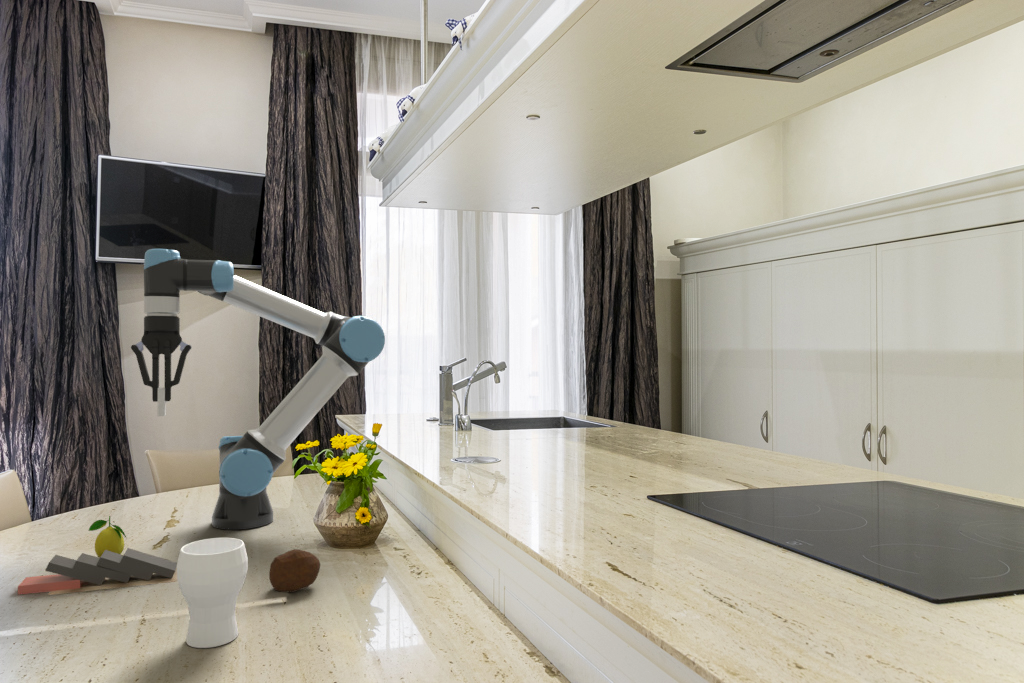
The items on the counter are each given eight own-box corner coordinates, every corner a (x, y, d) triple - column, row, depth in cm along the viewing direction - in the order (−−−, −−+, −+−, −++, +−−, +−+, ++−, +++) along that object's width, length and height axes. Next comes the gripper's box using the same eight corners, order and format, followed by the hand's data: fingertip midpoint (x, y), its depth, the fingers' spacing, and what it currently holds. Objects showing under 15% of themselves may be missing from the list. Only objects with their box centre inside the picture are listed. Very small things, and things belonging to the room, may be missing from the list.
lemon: (88, 561, 151) (88, 515, 151) (117, 555, 155) (118, 511, 155) (98, 568, 147) (98, 521, 146) (128, 562, 151) (128, 516, 151)
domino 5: (177, 563, 144) (127, 547, 140) (175, 570, 139) (123, 555, 136) (174, 570, 143) (124, 555, 140) (171, 578, 139) (119, 563, 135)
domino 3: (134, 567, 141) (82, 553, 137) (130, 575, 136) (76, 560, 133) (131, 575, 141) (78, 560, 137) (127, 583, 136) (72, 568, 133)
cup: (191, 625, 118) (191, 537, 118) (255, 623, 119) (255, 536, 119) (165, 653, 107) (165, 556, 107) (236, 651, 108) (236, 555, 108)
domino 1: (85, 571, 138) (26, 577, 134) (80, 579, 133) (18, 586, 130) (85, 579, 138) (26, 585, 134) (80, 588, 133) (18, 594, 130)
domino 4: (156, 565, 142) (105, 549, 139) (153, 572, 137) (100, 557, 134) (152, 572, 142) (101, 557, 139) (149, 580, 137) (96, 565, 134)
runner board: (203, 568, 147) (203, 564, 147) (200, 582, 139) (200, 578, 139) (60, 583, 138) (60, 579, 138) (47, 599, 129) (47, 594, 129)
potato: (262, 593, 133) (262, 551, 133) (305, 579, 141) (305, 540, 141) (285, 602, 129) (285, 559, 129) (328, 587, 137) (328, 547, 137)
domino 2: (109, 569, 139) (55, 554, 136) (104, 577, 134) (48, 562, 131) (106, 576, 139) (52, 562, 136) (101, 585, 134) (45, 570, 131)
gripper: (193, 316, 170) (193, 412, 170) (133, 315, 165) (132, 414, 165) (191, 315, 163) (191, 416, 163) (128, 314, 158) (128, 418, 158)
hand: (161, 415), depth 164 cm, fingers closed
